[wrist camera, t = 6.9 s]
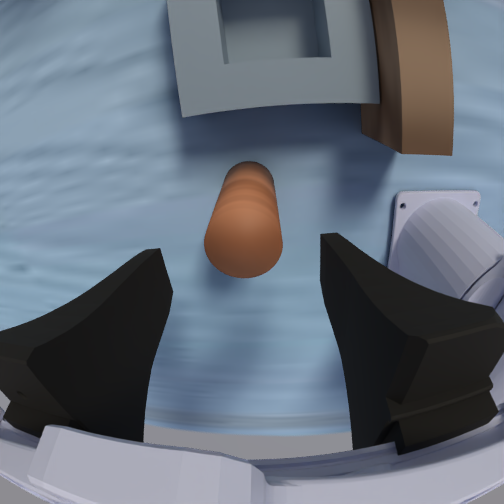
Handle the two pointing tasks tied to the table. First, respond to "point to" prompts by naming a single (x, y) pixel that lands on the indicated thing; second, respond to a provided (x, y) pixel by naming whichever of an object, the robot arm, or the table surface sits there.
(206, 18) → the socket block
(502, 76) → the table surface
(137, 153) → the table surface
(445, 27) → the walnut wall
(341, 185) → the table surface
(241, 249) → the dowel
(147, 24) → the table surface
